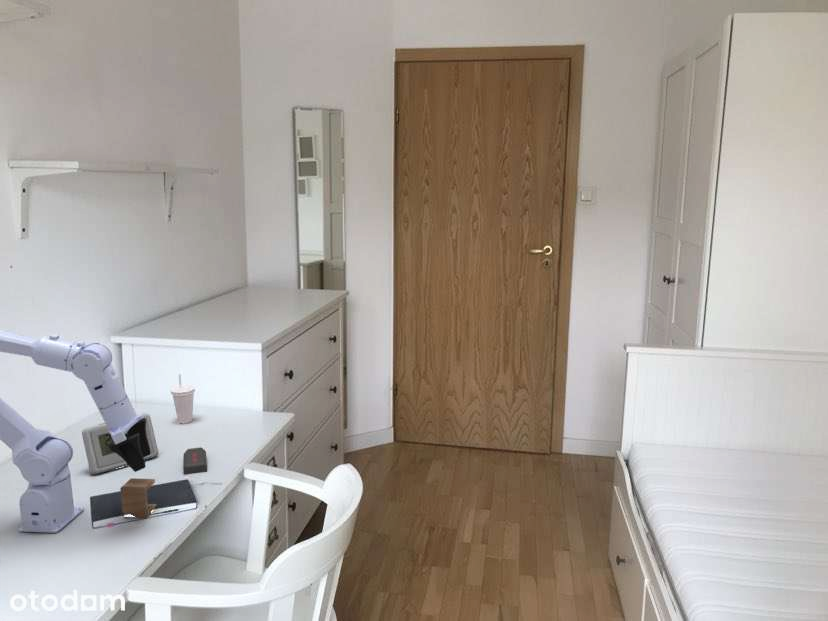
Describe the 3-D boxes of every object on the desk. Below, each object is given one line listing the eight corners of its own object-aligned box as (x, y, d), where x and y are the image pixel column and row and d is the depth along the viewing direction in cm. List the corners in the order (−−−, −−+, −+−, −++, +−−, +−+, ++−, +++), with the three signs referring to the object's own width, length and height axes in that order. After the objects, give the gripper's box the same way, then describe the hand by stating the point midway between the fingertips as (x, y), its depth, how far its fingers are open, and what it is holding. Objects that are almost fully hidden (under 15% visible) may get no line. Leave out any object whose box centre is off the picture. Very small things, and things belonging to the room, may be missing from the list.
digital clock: (88, 478, 150) (83, 434, 148) (83, 464, 158) (78, 422, 156) (162, 461, 159) (158, 420, 157) (154, 449, 167) (150, 409, 165)
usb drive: (183, 476, 152) (182, 465, 151) (184, 456, 163) (183, 446, 162) (207, 473, 153) (206, 462, 153) (206, 454, 164) (205, 443, 164)
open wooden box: (147, 518, 132) (144, 488, 130) (123, 517, 132) (120, 487, 131) (157, 507, 136) (154, 478, 135) (133, 507, 136) (131, 478, 135)
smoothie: (173, 419, 188) (170, 372, 186) (197, 416, 190) (193, 370, 188) (172, 426, 182) (168, 378, 180) (197, 424, 184) (193, 376, 182)
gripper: (126, 403, 123) (158, 466, 125) (138, 385, 136) (166, 442, 139) (89, 419, 121) (121, 482, 124) (105, 399, 135) (133, 456, 138)
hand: (143, 462), depth 132 cm, fingers open, 7 cm apart
